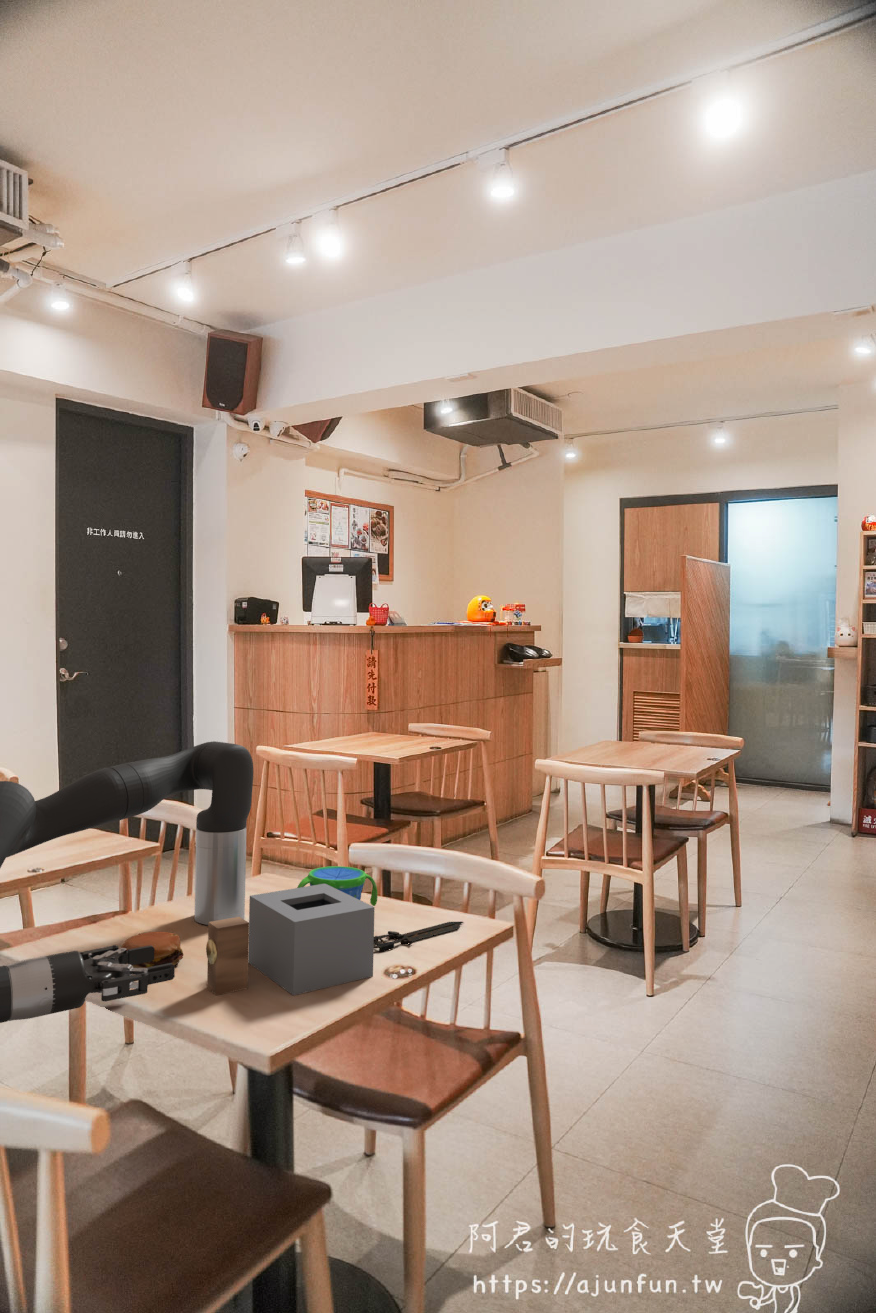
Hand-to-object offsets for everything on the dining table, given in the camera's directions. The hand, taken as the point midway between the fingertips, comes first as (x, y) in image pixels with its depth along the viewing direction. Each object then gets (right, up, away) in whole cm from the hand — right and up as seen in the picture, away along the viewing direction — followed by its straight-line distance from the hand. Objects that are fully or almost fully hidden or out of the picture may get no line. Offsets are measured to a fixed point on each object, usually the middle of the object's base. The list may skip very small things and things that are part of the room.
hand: (163, 961), depth 128 cm
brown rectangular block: (+8, -6, +6) cm, 12 cm away
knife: (+35, -7, +31) cm, 48 cm away
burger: (-7, -6, +15) cm, 18 cm away
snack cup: (+21, -6, +35) cm, 42 cm away
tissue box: (+19, -6, +14) cm, 25 cm away
